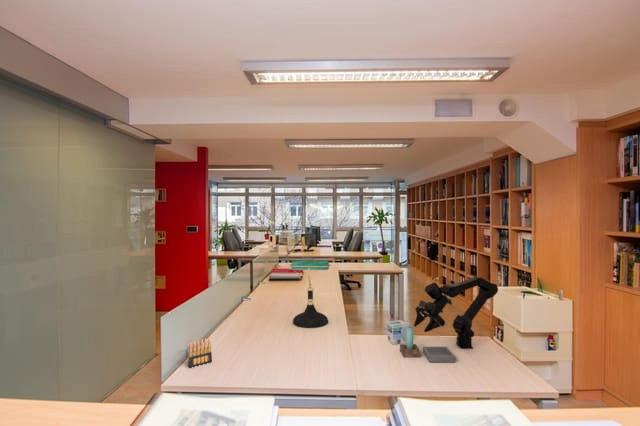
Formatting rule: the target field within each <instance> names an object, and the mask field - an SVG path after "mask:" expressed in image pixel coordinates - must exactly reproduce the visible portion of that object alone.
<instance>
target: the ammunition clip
mask: <svg viewBox="0 0 640 426" xmlns="http://www.w3.org/2000/svg"><path fill="white" fill-rule="evenodd" d="M188 345H189V346H188V357H187V358H188V362H187V363H188V364H187V367H189V368H190V369H193V368H196V367H195V366H197V367H200V366H199V365H201V366H204V365H208V364H212V363H213V355H212V341H211V337H208V340H207V337H205V339H204V340H203V338H201V341H200V340H199V339H197V342H196V340H194V341H193V342H192V341H189V344H188ZM211 362H212V363H211ZM207 363H208V364H207ZM203 364H204V365H203ZM192 367H193V368H192ZM189 368H188V369H189Z"/></svg>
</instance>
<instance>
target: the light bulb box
mask: <svg viewBox="0 0 640 426" xmlns="http://www.w3.org/2000/svg"><path fill="white" fill-rule="evenodd" d="M406 327H411V323H410V322H408V320H406V319H400V320H388V321H387V341H388V342H389V343H390V344H391V345H400V344H406Z"/></svg>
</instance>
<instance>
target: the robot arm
mask: <svg viewBox="0 0 640 426" xmlns="http://www.w3.org/2000/svg"><path fill="white" fill-rule="evenodd" d="M475 287H478V294H477V295H476V297H475V298H474V300H473V301H472V302H471V304H470V305H469V307H468V308H467V309H466V310H465V312H463V313H464V314H462V315H460V314H457V315H456V317H455V318H454V319H453V322H452V328H453V330H454V331H455V332H454V333H456V334H457V336H455V337H456V339H455V341H456V343H455V344H456V346H458V348H459V349H474V347H473V346H472V338H474V337H475V336H474V335H475V331H473V330H472V326H473V320H474V319H475V318H476V316H477V314H478V313H479V311H481V309H482V308H483V306H484V305H485V304H486V302H487V301H488V300H490V299H492V298H494V297H495V296H496V295H497V294H498V292H499V287H498V284H496V283H493V282H490V281H487V280H486V279H484V278H483V277H480V276H477V275H475V276H473V277H471V278H468V279H465V280H462V281H461V282H457V283H446V284H444V285H443V286H439V285H438V284H437V283H436V282H432V283H430V284H427V285H426V286H425V288H424V292H425V294H427V295H428V297H430V298H431V299H432V300H433V301H427V302H426V301H424V300H422V299H421V300H420V301H419V303H418V306H416V307H415V308H414V310H415V312H416V318H415V320H414V324H413V327H417V326H418V325H420V324H422V323H423V322H424V321H425V320H426V319H427V318H429V322H428V323H427V325H426V327H425V329H424V330H423V331H424V333H428V332H430V331H432V330H434V329H437V328H441V327H442V328H443V327H444V326H445V325H446V320H445V319H444V318H443V317H442V316H441V315H440V314H441V313H442V314H443V313H444V311H443V310H444V308H445V307H446V305H448V304H449V305H450V306H451V305H452V298H453V299H455V298H456V297H458V296H459V295H460V294H461V293H462V292H464V291H467V290H470V289H472V288H475ZM448 297H449V298H448Z"/></svg>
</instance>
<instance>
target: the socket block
mask: <svg viewBox="0 0 640 426" xmlns="http://www.w3.org/2000/svg"><path fill="white" fill-rule="evenodd" d="M399 352H400V354H401V356H402V357H403V358H421V351H420V348H419V347H418V345H417V344H416V343H413V349H406V343H403V344H399Z"/></svg>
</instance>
